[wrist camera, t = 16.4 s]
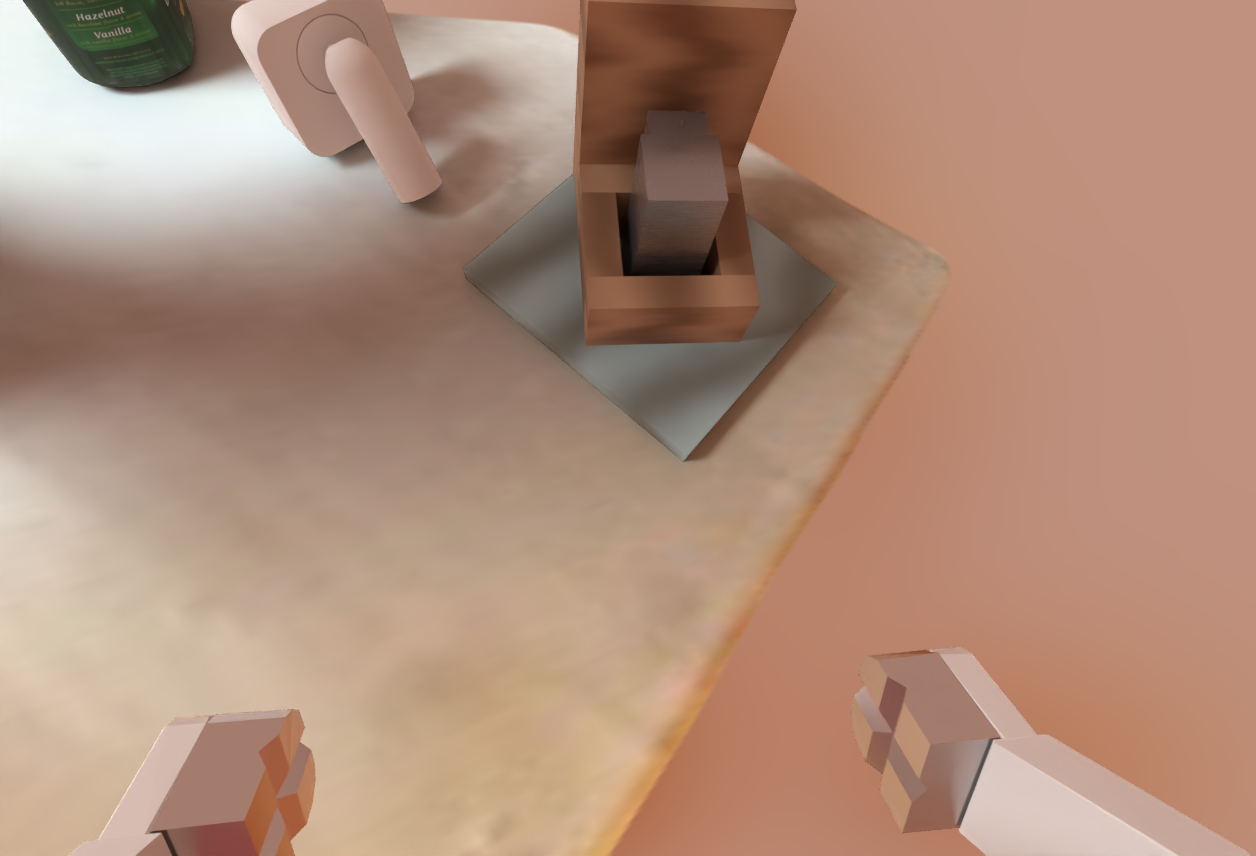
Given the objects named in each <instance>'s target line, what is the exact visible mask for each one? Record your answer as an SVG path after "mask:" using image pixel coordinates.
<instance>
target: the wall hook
mask: <svg viewBox="0 0 1256 856" xmlns="http://www.w3.org/2000/svg"><path fill="white" fill-rule="evenodd" d="M231 29H232V34H233V37H234V39H235V41H236V43H237V44H238V46H239V48H240V50H241V52H242V53H243V55H244V57H245V59H246V61H247V62H248V64H249V66H250V68H251V69H252V71H253V73H254V75H255V77H256V78H257V80H258V82H259V84H260V85H261V87H262V89H263V91H264V92H265V94H266V96H267V98H268V99H269V101H270V103H271V105H272V106H273V108H274V110H275V112H276V113H277V115H278V117H279V119H280V120H281V122H282V124H283V125H284V126H285V127H286V128H287V129H288V130H289V131H290V132H291V133H292V134H293V135H294V136H295V137H296V138H297V139H298V140H299V141H300V142H301V143H302V144H303V145H304V146H305V147H306V148H307V149H308V150H309V151H311V152H312V153H313V154H315V155H317V156H321V157H329V156H333V155H335V154H337V153H339V152H341V151H342V150H344V149H346V148H348V147H350V146H352V145H353V144H355V143H357V142H359V141H361V140H363V139H364V141H365V143H366V144H367V146H368V148H369V149H370V151H371V153H372V155H373V156H374V158H375V160H376V161H377V163H378V165H379V167H380V168H381V170H382V172H383V173H384V175H385V177H386V179H387V180H388V182H389V184H390V186H391V187H392V189H393V191H394V192H395V194H396V196H397V198H398V199H399V201H400V202H401V203H409V202H413V201H416V200H418V199H421V198H423V197H425V196H427V195H429V194H430V193H432V192H433V191H435V190H436V189H437V188H438V187H439V186H440V185H441V184H442V179H441V177H440V175H439V174H438V172H437V170H436V168H435V166H434V164H433V162H432V160H431V158H430V156H429V155H428V153H427V151H426V149H425V147H424V145H423V143H422V141H421V139H420V138H419V136H418V134H417V132H416V130H415V128H414V126H413V124H412V122H411V120H410V119H409V117H408V115H407V114H408V112H409V111H410V110H411V108H412V106H413V103H414V98H415V93H414V88H413V85H412V82H411V80H410V77H409V74H408V71H407V68H406V65H405V63H404V60H403V57H402V54H401V51H400V48H399V46H398V43H397V40H396V37H395V34H394V32H393V29H392V26H391V23H390V20H389V18H388V15H387V12H386V9H385V6H384V4H383V1H382V0H252V1H249V2H247V3H245V4H243V5H241V6H240V7H239V8H238V9H237V10H236V11H235V13H234V15H233V17H232V21H231Z"/></svg>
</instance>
